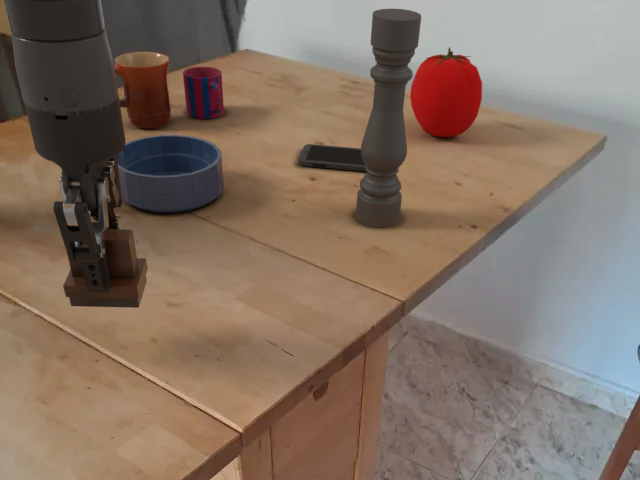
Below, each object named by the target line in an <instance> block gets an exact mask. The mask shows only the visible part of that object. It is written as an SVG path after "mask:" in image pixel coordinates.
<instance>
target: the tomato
mask: <svg viewBox="0 0 640 480" xmlns="http://www.w3.org/2000/svg"><path fill="white" fill-rule="evenodd" d="M469 57H471V55H462V54H454V51H452V50H451V47H448V50H447V54H442V53H441V54H435V55H431V56H429V57H426V58H425V59H424V60H423V61H422V62H421V63H420V65H419V66H418V68H417V70H416V72H415V75H414V78H413V80H412V83H411V86H410V94H409V98H410V105H411V109H412V111H413V114H414V118H415V120H416V121H417V122H418V125H419V126H420V127H421V129H422V131H424V132H425V133H426V134H427V135H431V136H432V137H433V136H434V137H440V138H454V137H456V136H459V135H462V134H464V133H465V132H466V131H468V130H469V128H471V126H472V125H473V124H474V122H475V120H476V119H477V117H478V116H479V115H478V114H479V111H480V107H481V103H482V100H483V82H482V79H481V76H480V73H479V70H478V67H477V66H476V65H474V64H473V63H472V62H471V60H470V59H469Z"/></svg>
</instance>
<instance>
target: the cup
mask: <svg viewBox="0 0 640 480" xmlns="http://www.w3.org/2000/svg"><path fill="white" fill-rule="evenodd" d="M182 78H183V88H184V97H185V98H184V99H185V109H186V114H187V115H188V116H190V117H192V118H193V119H199V120H209V119H211V120H212V119H215V118H219V117H221V116H223V115H224V113H225V106H224V91H223V89H224V88H223V74H222V70H220V69H219V68H216V67H211V66H193V67H189V68H186V69H185V70H183V71H182Z"/></svg>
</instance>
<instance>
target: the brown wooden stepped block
mask: <svg viewBox="0 0 640 480" xmlns="http://www.w3.org/2000/svg"><path fill="white" fill-rule="evenodd" d="M104 242H105V249H106V259H107V264H108V269H109V274H110V279H111V288H110V291H109V292H90V291H88V290H87V288H86V283H85V279H84V274H83V270H82V265H81V261H76V262H71V261H70V260H69V257H68V254H67V253H66V255H67V260H68V264H69V269H70V270H69V272H68V273H67V276H66V279H65V281H64V283H63V285H62V287H63V292H64V295H65V298H68V299H69V303H70V306H71V307H84V308H85V307H87V308H89V307H90V308H131V309H132V308H134V309H137V308H138V309H139V308H140V305H141V302H142V298H143V295H144V292H145V288H146V285H147V282H148V280H147V279H148V278H147V273H148V270H149V268H148V263H147V258H143V257H142V258H141V257H139V258H138V255H137V250H136V243H135V237H134V230H133V229H121V228H119V229H108V230H106V231H105V232H104ZM83 244H87V243H85V242H83Z"/></svg>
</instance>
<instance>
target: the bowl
mask: <svg viewBox="0 0 640 480" xmlns="http://www.w3.org/2000/svg"><path fill="white" fill-rule="evenodd" d="M117 162H118V171H119V179H120V188H121V196H122V200H123V202H125V203H126V204H128V205H130V206H133V207H136V208H138V209H140V210H143V211H147V212H153V213H161V214H163V213H164V214H166V213H167V214H170V213H171V214H172V213H181V212H187V211H193V210H196V209H199V208H201V207H204V206H206V205H208V204H209V203H211V202H212V201H214V200H215V199H217V198H218V197H220V196H221V194H222V192H223V191H224V189H225V187H224V171H223V157H222V150H221V148H219V146H217V145H216V143H213V142H211V141H209V140H208V139H204V138H200V137H196V136H193V135H182V134H157V135H149V136H143V137H139V138H136V139H132V140H130V141H126V144H125V147H124V149H123V151H122V152H121V153H120V154H118V155H117Z"/></svg>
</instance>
